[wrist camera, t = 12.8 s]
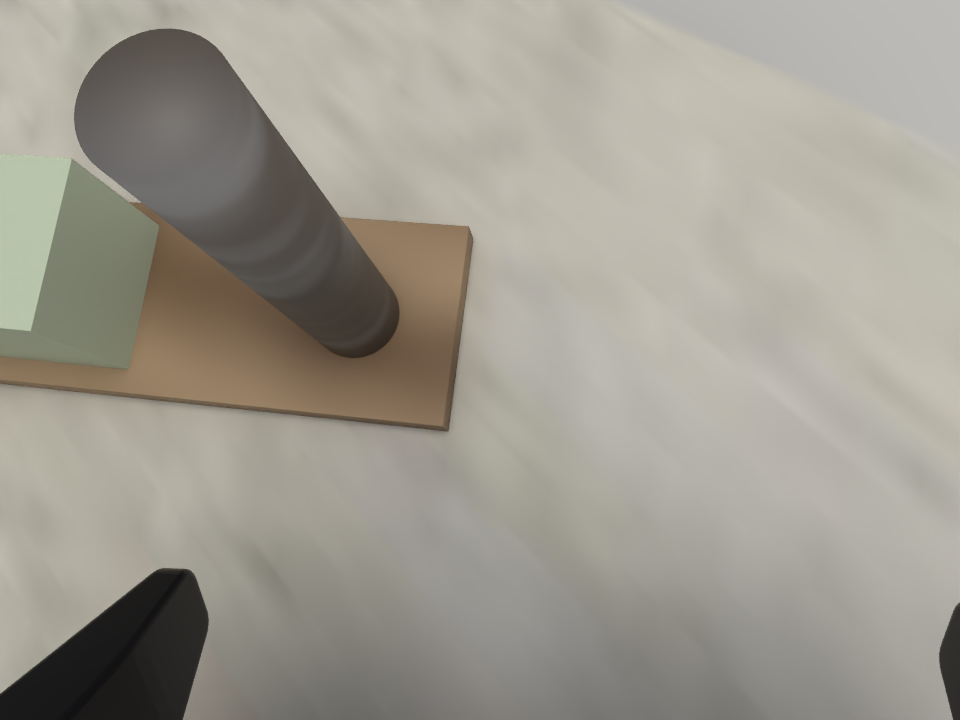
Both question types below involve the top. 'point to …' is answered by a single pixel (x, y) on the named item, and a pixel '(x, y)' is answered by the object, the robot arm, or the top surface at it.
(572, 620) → the top surface
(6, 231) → the sage cube
